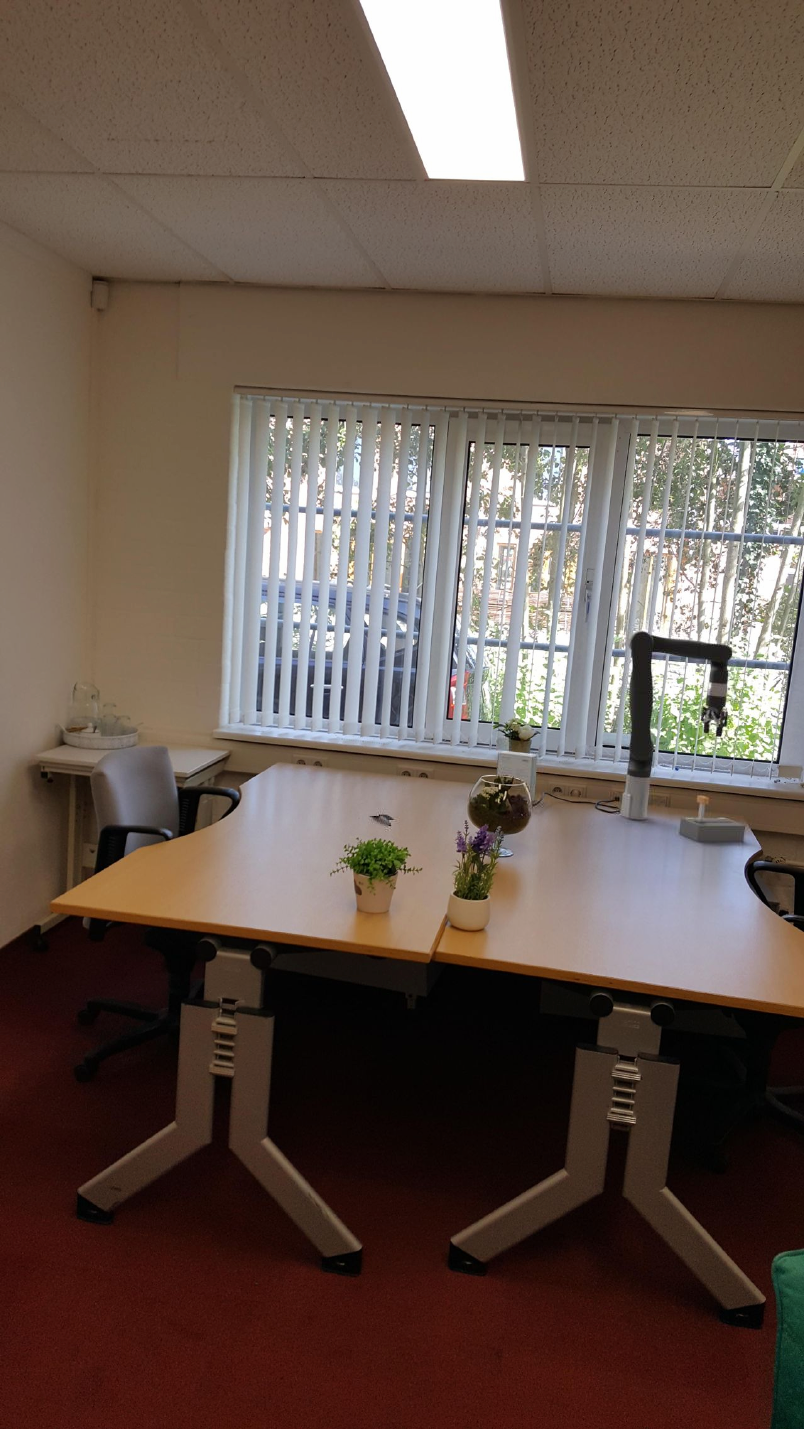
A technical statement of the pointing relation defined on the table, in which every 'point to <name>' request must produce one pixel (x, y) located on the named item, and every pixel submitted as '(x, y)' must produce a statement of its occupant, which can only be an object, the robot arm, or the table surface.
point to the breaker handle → (701, 808)
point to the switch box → (712, 830)
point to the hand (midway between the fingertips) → (712, 734)
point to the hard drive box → (518, 767)
